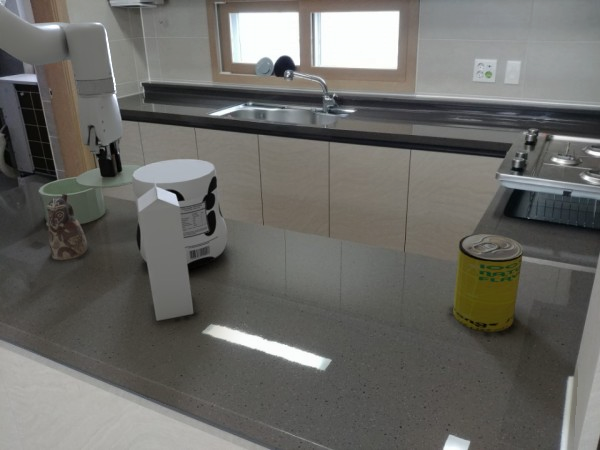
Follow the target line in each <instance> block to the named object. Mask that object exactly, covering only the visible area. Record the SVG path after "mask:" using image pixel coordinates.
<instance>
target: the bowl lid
mask: <svg viewBox="0 0 600 450" xmlns="http://www.w3.org/2000/svg"><path fill="white" fill-rule="evenodd" d="M111 158H113V160H114V166H115V171H116V176H115V177H102V176H101V174H100V168H99V167H97V168H94V169H93V168H92V169H90V170H87V171H84V172H82V173H80V174H79V175H77V176H76V177H77V178H76V183H77V184H78V185H79V186H82V187H85V188H102V189H112V188H118V187H124V186H128V185H133V182H132V176H133V173H134V171H136V170H137V169H139V168H141V167H143V166H142V165H136V164H121V165H122V172H118V171H117V165H116V160H115V154H114V153H111Z"/></svg>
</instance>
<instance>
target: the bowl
mask: <svg viewBox="0 0 600 450" xmlns="http://www.w3.org/2000/svg"><path fill="white" fill-rule="evenodd" d="M77 177H78V176H75V177H66V178H62V179H56V180H53V181H51V182H48V183H45V184H44V185H42V186H40V187H39V189H38V195H39V200H40V204H41V208H42V212H43V216H44V220H45V221H46V223H48V222H49V216H48V210H47V209H46V207H47V206H48V204H49V203H50V201H51V200H52V199H54V198H61V197H62V195H63V194H67V195H68V197H67V203H68V204H70V205H71V206H72V208H73V211H74V218H76V219H77V220H78V222H79V223H80V225H84V224H87V223H91V222H93V221H95V220H98V219H99V218H101V217H103V216H104V215H105V214H106V203H105V197H104V192H103V188H85V187H82V186H79V185H78V184H77V183H76V178H77Z"/></svg>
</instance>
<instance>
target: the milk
mask: <svg viewBox="0 0 600 450" xmlns="http://www.w3.org/2000/svg"><path fill="white" fill-rule="evenodd" d="M154 184H155V187H154V188H152V189H151V190H149V191H148V192H147V193H145V194H144V195H143V196H141V197H140V198H138V199H137V202H138V211H139V218H140V224H141V230H142V236H143V242H144V248H145V254H146V260H147V262H146V266H147V272H148V278H149V285H150V290H151V296H152V303H153V309H154V314H155V321H156V322H159V321H165V320H169V319H174V318H180V317H185V316H190V315H194V305H193V299H192V298H193V297H192V290H191V283H190V274H189V269H188V267H187V259H186V251H185V244H184V236H183V229H182V221H181V213H180V207H179V203H178V200H177V197H176V194H174V193H171V192H169V191H166V190H163V189H161V188H158V187H156V183H155V179H154Z"/></svg>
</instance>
